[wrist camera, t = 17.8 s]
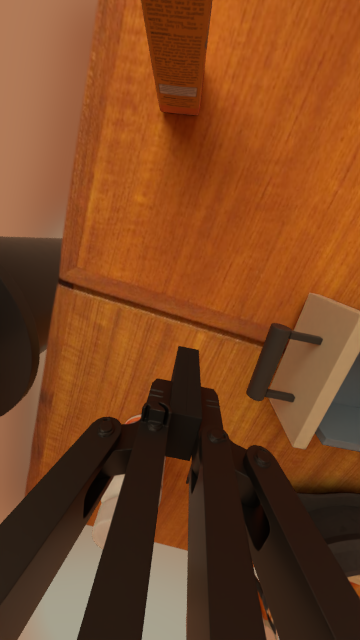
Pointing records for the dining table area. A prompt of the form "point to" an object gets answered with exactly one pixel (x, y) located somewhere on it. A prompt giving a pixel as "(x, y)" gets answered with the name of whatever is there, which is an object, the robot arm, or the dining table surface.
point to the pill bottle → (112, 503)
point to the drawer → (314, 375)
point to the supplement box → (178, 51)
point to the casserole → (338, 528)
